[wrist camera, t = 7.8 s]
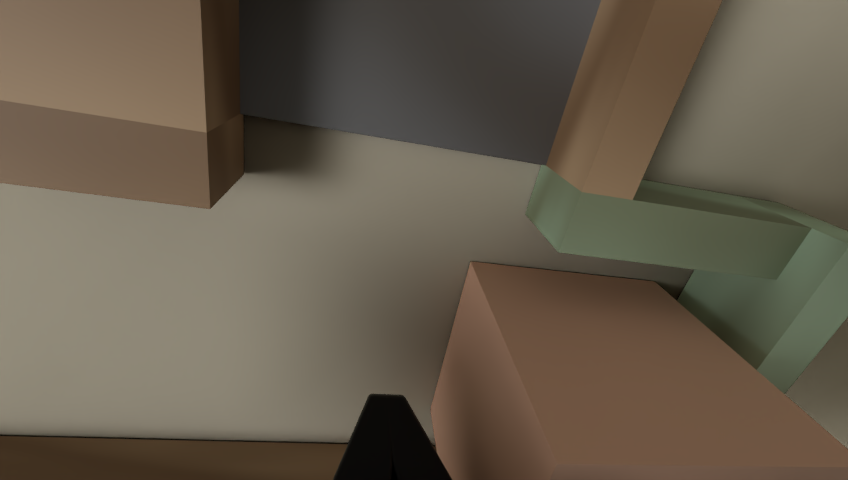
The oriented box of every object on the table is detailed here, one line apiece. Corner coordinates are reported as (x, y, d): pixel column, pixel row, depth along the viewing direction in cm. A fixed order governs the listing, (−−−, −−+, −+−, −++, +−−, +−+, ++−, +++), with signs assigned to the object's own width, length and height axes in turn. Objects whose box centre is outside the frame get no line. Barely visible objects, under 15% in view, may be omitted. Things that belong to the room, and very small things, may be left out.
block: (585, 414, 12) (702, 624, 8) (430, 409, 11) (465, 642, 7) (654, 281, 10) (869, 468, 6) (470, 261, 9) (558, 464, 5)
